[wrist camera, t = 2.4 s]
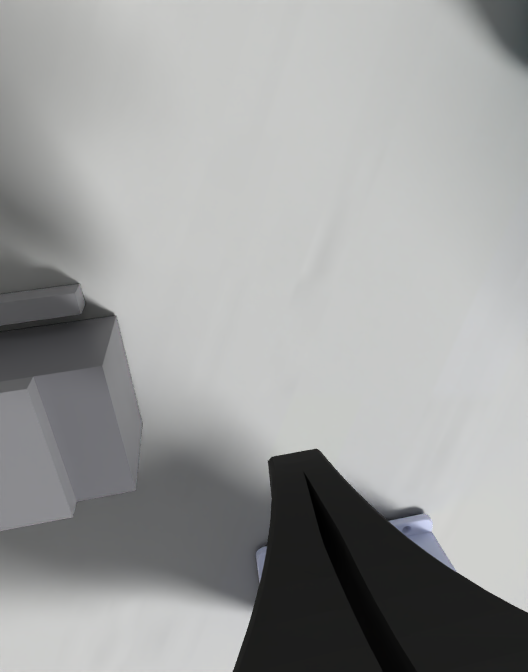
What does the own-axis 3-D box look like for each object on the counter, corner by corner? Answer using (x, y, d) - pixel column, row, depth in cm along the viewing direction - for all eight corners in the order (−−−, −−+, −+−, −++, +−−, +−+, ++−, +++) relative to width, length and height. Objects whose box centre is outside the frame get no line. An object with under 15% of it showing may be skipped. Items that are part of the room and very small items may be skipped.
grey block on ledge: (116, 315, 18) (99, 377, 14) (142, 423, 20) (134, 505, 16) (-24, 335, 17) (-87, 406, 13) (19, 444, 19) (-23, 535, 15)
